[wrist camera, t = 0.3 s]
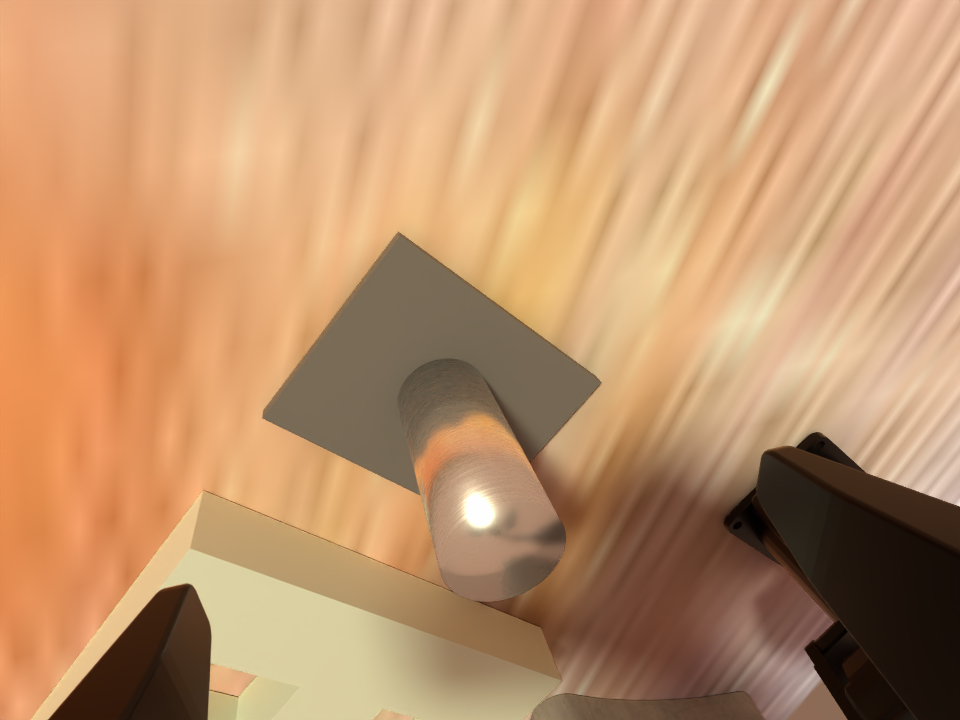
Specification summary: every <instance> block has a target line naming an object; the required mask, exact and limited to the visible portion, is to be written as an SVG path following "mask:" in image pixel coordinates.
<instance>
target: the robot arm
mask: <svg viewBox="0 0 960 720" xmlns="http://www.w3.org/2000/svg"><path fill="white" fill-rule="evenodd" d="M724 526H725V527H726V528H727V529H728V530H729V531H730V533H732V534H734V535H735V536H737V537H738V538H740V539H741V540H743V541H744V542H746V543H747V544H749V545H750V546H752V547H754V548H755V549H757V550H758V551H760V552H761V553H763V554H764V555H766V556H767V557H769V558H770V559H772V560H774V561H775V562H777V563H778V564H780V565H781V566H783V567H784V568H785V569H786V570H787V571H788V572H789V574H790V575H791V576H792V577H793V578H794V579H795V580H796V581H797V582H798V583H799V584H800V585H801V587H802V588H803V589H804V590H805V591H806V592H807V593H808V594H809V595H810V596H811V597H812V599H813V600H814V601H815V602H816V603H817V604H818V605H819V606H820V607H821V608H822V609H823V610H824V612H825V613H826V614H827V615H828V616H829V617H830V618H831V619H832V620H833V621H834V623H833V624H832V625H831V626H830V627H829V628H828V629H827V630H826V631H825V632H824V633H823V634H822V635H821V636H820V637H819V638H818V639H817V640H816V641H814V640H812V641H811V642H810V643H809V644H808V645H807V646H806V647H805V648H804V649H805V651H806V653H807V654H808V656H809V657H810V659H811V660H812V662H813V663H814V668H815V670H816V671H817V673H818V675H819V676H820V678H821V679H822V681H823V682H824V684H825V685H826V687H827V688H828V690H829V691H830V693H831V694H832V696H833V698H834V699H835V701H836V702H837V704H838V705H839V707H840V708H841V710H842V711H843V713H844V715H845V716H846V718H847V719H848V720H960V507H959V506H957V505H954V504H951V503H948V502H945V501H943V500H940V499H937V498H934V497H932V496H929V495H926V494H923V493H920V492H918V491H915V490H912V489H909V488H906V487H904V486H901V485H898V484H895V483H892V482H890V481H887V480H884V479H881V478H879V477H876V476H873V475H870V474H867V473H866V472H865V471H864V470H862V469H861V468H860V467H859V466H858V465H857V464H856V463H855V462H854V461H853V460H851V459H850V458H849V457H848V456H847V455H846V454H845V453H844V452H843V451H842V450H840V449H839V448H838V447H837V446H836V445H835V444H834V443H833V442H832V441H831V440H829V439H828V438H827V437H826V436H824V435H823V434H822V433H820V432H816V433H813V434H811V435H810V436H809V437H808V438H807V439H806V440H805V441H804V442H803V443H802V444H801V445H800V446H799V447H798V448H795V447H792V446H782V447H777V448H773V449H769V450H766V451H765V452H764V453H763V455H762V457H761V462H760V468H759V475H758V481H757V487H756V489H755V490H754V491H753V492H752V493H751V494H750V495H749V496H748V497H747V498H746V499H745V500H744V501H743V502H742V503H741V504H740V505H739V506H737V507H736V508H735V509H734V510H733V511H732V512H731V513H730V514H729V515H728V516H727V518H726V519H725V521H724ZM211 642H212V635H211V626H210V622H209V620H208V617H207V615H206V613H205V610H204V608H203V605H202V603H201V601H200V598H199V596H198V594H197V591H196V589H195V588H194V586H193V585H192V584H188V583H185V584H181V585H176V586H172V587H167V588H164V589H161V590H160V591H158V592H157V593H156V594H155V595H154V596H153V597H152V599H151V600H150V601H149V602H148V603H147V604H146V606H145V607H144V608H143V609H142V610H141V611H140V613H139V614H138V615H137V616H136V617H135V618H134V620H133V621H132V622H131V623H130V624H129V625H128V627H127V628H126V629H125V630H124V631H123V632H122V634H121V635H120V636H119V637H118V638H117V639H116V641H115V642H114V643H113V644H112V645H111V646H110V648H109V649H108V650H107V651H106V652H105V653H104V655H103V656H102V657H101V658H100V659H99V660H98V662H97V663H96V664H95V665H94V666H93V667H92V669H91V670H90V671H89V672H88V673H87V674H86V676H85V677H84V678H83V679H82V680H81V681H80V683H79V684H78V685H77V686H76V687H75V688H74V690H73V691H72V692H71V693H70V694H69V695H68V697H67V698H66V699H65V700H64V701H63V702H62V704H61V705H60V706H59V707H58V708H57V709H56V711H55V712H54V713H53V714H52V715H51V716H50V718H49V719H48V720H208V704H209V683H210V662H211Z"/></svg>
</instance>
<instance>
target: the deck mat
mask: <svg viewBox="0 0 960 720" xmlns="http://www.w3.org/2000/svg"><path fill="white" fill-rule="evenodd" d="M443 358H452V359H458V360H462V361H465V362H467V363H469V364H471V365H472V366H474V367H475V368H476V369H477V370H478V371H479V372H480V373H481V375H482V376H483V378H484V380H485V381H486V383H487V385H488V387H489V389H490V391H491V393H492V394H493V396H494V398H495V400H496V402H497V404H498V405H499V407H500V409H501V411H502V413H503V415H504V417H505V418H506V420H507V422H508V424H509V426H510V428H511V430H512V431H513V433H514V435H515V437H516V439H517V441H518V442H519V444H520V446H521V448H522V450H523V452H524V454H525V455H526V457H527V459H528V461H529V462H530V461H531V460H532V459H533V458H534V457H535V456H536V455H537V453H538V452H539V451H540V450H541V449H542V448H543V447H544V446H545V445H546V443H547V442H548V441H549V440H550V439H551V438H552V437H553V436H554V435H555V433H556V432H557V431H558V430H559V429H560V428H561V427H562V426H563V425H564V423H565V422H566V421H567V420H568V419H569V418H570V417H571V416H572V415H573V413H574V412H575V411H576V410H577V409H578V408H579V407H580V406H581V405H582V403H583V402H584V401H585V400H586V399H587V398H588V397H589V396H590V395H591V393H592V392H593V391H594V390H595V389H596V388H597V387H598V386H599V385H600V383H601V381H600V380H599V379H598V378H597V377H596V376H595V375H593V374H592V373H591V372H589V371H588V370H587V369H585V368H584V367H583V366H581V365H580V364H578V363H577V362H576V361H574V360H573V359H572V358H570V357H569V356H567V355H566V354H565V353H563V352H562V351H561V350H559V349H558V348H557V347H555V346H554V345H552V344H551V343H550V342H548V341H547V340H546V339H544V338H543V337H542V336H540V335H539V334H537V333H536V332H535V331H533V330H532V329H531V328H529V327H528V326H526V325H525V324H524V323H522V322H521V321H520V320H518V319H517V318H516V317H514V316H513V315H511V314H510V313H509V312H507V311H506V310H505V309H503V308H502V307H501V306H499V305H498V304H496V303H495V302H494V301H492V300H491V299H490V298H488V297H487V296H486V295H484V294H483V293H481V292H480V291H479V290H477V289H476V288H475V287H473V286H472V285H470V284H469V283H468V282H466V281H465V280H464V279H462V278H461V277H460V276H458V275H457V274H455V273H454V272H453V271H451V270H450V269H449V268H447V267H446V266H445V265H443V264H442V263H440V262H439V261H438V260H436V259H435V258H434V257H432V256H431V255H429V254H428V253H427V252H425V251H424V250H423V249H421V248H420V247H419V246H417V245H416V244H414V243H413V242H412V241H410V240H409V239H408V238H406V237H405V236H404V235H402V234H401V233H399V232H398V233H397V234H396V235H395V237H394V238H393V239H392V241H391V242H390V243H389V245H388V246H387V247H386V249H385V250H384V251H383V253H382V254H381V255H380V257H379V258H378V259H377V261H376V262H375V263H374V265H373V266H372V267H371V269H370V270H369V271H368V273H367V274H366V275H365V277H364V278H363V279H362V280H361V282H360V283H359V284H358V286H357V287H356V288H355V290H354V291H353V292H352V294H351V295H350V296H349V298H348V299H347V300H346V302H345V303H344V304H343V306H342V307H341V308H340V310H339V311H338V312H337V314H336V315H335V316H334V318H333V319H332V320H331V322H330V323H329V324H328V326H327V327H326V328H325V330H324V331H323V332H322V334H321V335H320V336H319V338H318V339H317V340H316V342H315V343H314V344H313V346H312V347H311V348H310V349H309V351H308V352H307V353H306V355H305V356H304V357H303V359H302V360H301V361H300V363H299V364H298V365H297V367H296V368H295V369H294V371H293V372H292V373H291V375H290V376H289V377H288V379H287V380H286V381H285V383H284V384H283V385H282V387H281V388H280V389H279V391H278V392H277V393H276V395H275V396H274V397H273V399H272V400H271V401H270V403H269V404H268V405H267V407H266V408H265V409H264V411H263V419H265V420H267V421H269V422H271V423H273V424H275V425H277V426H279V427H281V428H283V429H285V430H288V431H290V432H292V433H294V434H296V435H298V436H300V437H302V438H304V439H306V440H308V441H310V442H312V443H314V444H316V445H318V446H320V447H322V448H324V449H326V450H328V451H331V452H333V453H335V454H337V455H339V456H341V457H343V458H345V459H347V460H349V461H351V462H353V463H355V464H357V465H359V466H361V467H363V468H365V469H367V470H369V471H371V472H373V473H376V474H378V475H380V476H382V477H384V478H386V479H388V480H390V481H392V482H394V483H396V484H398V485H400V486H402V487H404V488H406V489H408V490H410V491H412V492H414V493H416V494H419V495H420V491H419V487H418V483H417V479H416V475H415V472H414V468H413V464H412V460H411V456H410V452H409V449H408V445H407V441H406V437H405V433H404V429H403V425H402V422H401V418H400V414H399V410H398V395H399V391H400V389H401V386H402V384H403V383H404V381H405V380H406V378H407V377H408V376H409V375H410V374H411V373H412V372H413V371H414V370H415V369H417V368H418V367H420V366H421V365H423V364H425V363H427V362H430V361H433V360H437V359H443Z"/></svg>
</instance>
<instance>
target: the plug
mask: <svg viewBox="0 0 960 720" xmlns="http://www.w3.org/2000/svg"><path fill="white" fill-rule="evenodd" d="M398 410H399V414H400V418H401V422H402V425H403V429H404V433H405V437H406V441H407V445H408V449H409V452H410V456H411V460H412V464H413V468H414V472H415V475H416V479H417V483H418V487H419V491H420V495H421V498H422V502H423V506H424V510H425V514H426V518H427V522H428V525H429V529H430V533H431V537H432V541H433V545H434V548H435V552H436V556H437V560H438V564H439V568H440V571H441V575H442V578H443V580H444V582H445V583H446V585H447V586H448V587H449V588H450V589H451V590H452V591H453V592H454V593H456V594H457V595H459V596H461V597H463V598H466V599H469V600H474V601H482V602H492V601H500V600H505V599H509V598H512V597H515V596H518V595H520V594H522V593H524V592H526V591H528V590H530V589H532V588H533V587H535V586H536V585H538V584H539V583H540V582H542V581H543V580H544V579H545V578H546V577H547V576H548V575H549V574H550V573H551V572H552V571H553V570H554V568H555V567H556V566H557V564H558V563H559V561H560V559H561V557H562V554H563V552H564V548H565V542H566V535H565V529H564V526H563V524H562V522H561V520H560V518H559V516H558V514H557V513H556V511H555V509H554V507H553V505H552V503H551V502H550V500H549V498H548V496H547V494H546V492H545V490H544V489H543V487H542V485H541V483H540V481H539V479H538V478H537V476H536V474H535V472H534V470H533V468H532V466H531V465H530V463H529V461H528V459H527V457H526V455H525V454H524V452H523V450H522V448H521V446H520V444H519V442H518V441H517V439H516V437H515V435H514V433H513V431H512V430H511V428H510V426H509V424H508V422H507V420H506V418H505V417H504V415H503V413H502V411H501V409H500V407H499V405H498V404H497V402H496V400H495V398H494V396H493V394H492V393H491V391H490V389H489V387H488V385H487V383H486V381H485V380H484V378H483V376H482V375H481V373H480V372H479V371H478V370H477V369H476V368H475V367H474V366H472V365H471V364H469V363H467V362H465V361H462V360H458V359H452V358H443V359H437V360H433V361H430V362H427V363H425V364H423V365H421V366H420V367H418V368H417V369H415V370H414V371H413V372H412V373H411V374H410V375H409V376H408V377H407V378H406V380H405V381H404V383H403V384H402V386H401V389H400V391H399V395H398Z"/></svg>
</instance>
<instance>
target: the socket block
mask: <svg viewBox="0 0 960 720" xmlns="http://www.w3.org/2000/svg"><path fill="white" fill-rule="evenodd" d="M185 583H188V584H192V585H193V586H194V588H195V589H196V591H197V594H198V596H199V598H200V601H201V603H202V605H203V608H204V610H205V613H206V615H207V617H208V620H209V622H210V626H211V635H212V642H211V662H210V663H212V664H216V665H220V666H223V667H227V668H231V669H234V670H238V671H242V672H246V673H249V674H253V675H257V676H256V678H255V679H254V680H253V681H252V682H251V683H250V685H249V686H248V687H247V688H246V689H245V690H244V692H243V693H242V694H241V695H240V696H239V697H235V696H230V695H226V694H222V693H218V692H214V691H210V690H209V704H208V720H373V719H374V718H375V717H376V716H377V715H378V713H379V712H380V711H381V710H382V709H383V710H387V711H391V712H395V713H398V714H402V715H406V716H410V717H413V718H414V719H413V720H523V719H524V718H525V717H526V716H527V715H528V714H529V713H530V712H531V711H532V710H533V709H534V708H535V707H536V706H537V705H538V704H539V703H540V702H541V701H542V700H543V699H545V698H546V697H547V696H548V695H549V694H550V693H551V692H552V691H553V690H554V689H555V688H556V687H557V686H558V685H559V684H560V683H561V682H562V679H561V676H560V674H559V671H558V669H557V666H556V664H555V661H554V659H553V657H552V654H551V652H550V649H549V647H548V644H547V642H546V639H545V637H544V634H543V632H542V630H541V628H540V627H538V626H535V625H533V624H530V623H528V622H526V621H523V620H521V619H518V618H516V617H513V616H511V615H508V614H506V613H503V612H501V611H499V610H496V609H494V608H491V607H489V606H486V605H484V604H481V603H479V602H476V601H474V600H469V599H466V598H463V597H461V596H459V595H457V594H456V593H454V592H452V591H449V590H447V589H444V588H442V587H439V586H437V585H435V584H432V583H430V582H427V581H425V580H422V579H420V578H417V577H415V576H412V575H410V574H408V573H405V572H403V571H400V570H398V569H395V568H393V567H390V566H388V565H385V564H383V563H380V562H378V561H376V560H373V559H371V558H368V557H366V556H363V555H361V554H358V553H356V552H353V551H351V550H349V549H346V548H344V547H341V546H339V545H336V544H334V543H331V542H329V541H326V540H324V539H321V538H319V537H317V536H314V535H312V534H309V533H307V532H304V531H302V530H299V529H297V528H294V527H292V526H290V525H287V524H285V523H282V522H280V521H277V520H275V519H272V518H270V517H267V516H265V515H262V514H260V513H258V512H255V511H253V510H250V509H248V508H245V507H243V506H240V505H238V504H235V503H233V502H231V501H228V500H226V499H223V498H221V497H218V496H216V495H213V494H211V493H208V492H206V491H202V493H201V494H200V495H199V497H198V498H197V499H196V501H195V502H194V503H193V505H192V506H191V507H190V509H189V510H188V511H187V513H186V514H185V515H184V517H183V518H182V519H181V521H180V522H179V523H178V525H177V526H176V527H175V529H174V530H173V531H172V533H171V534H170V535H169V537H168V538H167V539H166V541H165V542H164V543H163V545H162V546H161V547H160V549H159V550H158V551H157V552H156V554H155V555H154V556H153V558H152V559H151V560H150V562H149V563H148V564H147V566H146V567H145V568H144V570H143V571H142V572H141V574H140V575H139V576H138V578H137V579H136V580H135V582H134V583H133V584H132V586H131V587H130V588H129V590H128V591H127V592H126V594H125V595H124V596H123V598H122V599H121V600H120V602H119V603H118V604H117V606H116V607H115V608H114V610H113V611H112V612H111V614H110V615H109V616H108V618H107V619H106V620H105V621H104V623H103V624H102V625H101V627H100V628H99V629H98V631H97V632H96V633H95V635H94V636H93V637H92V639H91V640H90V641H89V643H88V644H87V645H86V647H85V648H84V649H83V651H82V652H81V653H80V655H79V656H78V657H77V659H76V660H75V661H74V663H73V664H72V665H71V667H70V668H69V669H68V671H67V672H66V673H65V675H64V676H63V677H62V679H61V680H60V681H59V683H58V684H57V685H56V687H55V688H54V689H53V690H52V692H51V693H50V694H49V696H48V697H47V698H46V700H45V701H44V702H43V704H42V705H41V706H40V708H39V709H38V710H37V712H36V713H35V714H34V716H33V717H32V718H31V720H48V719H49V718H50V716H51V715H52V714H53V713H54V712H55V711H56V709H57V708H58V707H59V706H60V705H61V704H62V702H63V701H64V700H65V699H66V698H67V697H68V695H69V694H70V693H71V692H72V691H73V690H74V688H75V687H76V686H77V685H78V684H79V683H80V681H81V680H82V679H83V678H84V677H85V676H86V674H87V673H88V672H89V671H90V670H91V669H92V667H93V666H94V665H95V664H96V663H97V662H98V660H99V659H100V658H101V657H102V656H103V655H104V653H105V652H106V651H107V650H108V649H109V648H110V646H111V645H112V644H113V643H114V642H115V641H116V639H117V638H118V637H119V636H120V635H121V634H122V632H123V631H124V630H125V629H126V628H127V627H128V625H129V624H130V623H131V622H132V621H133V620H134V618H135V617H136V616H137V615H138V614H139V613H140V611H141V610H142V609H143V608H144V607H145V606H146V604H147V603H148V602H149V601H150V600H151V599H152V597H153V596H154V595H155V594H156V593H157V592H158V591H160V590H161V589H164V588H167V587H172V586H176V585H181V584H185Z"/></svg>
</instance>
